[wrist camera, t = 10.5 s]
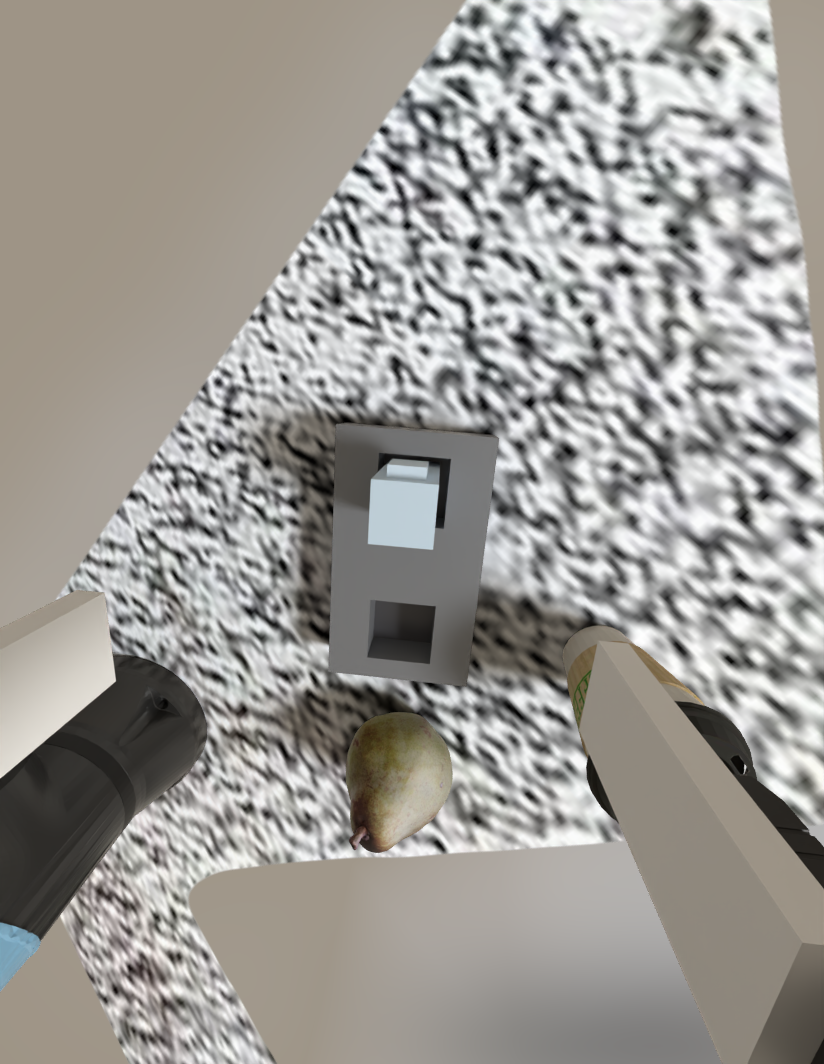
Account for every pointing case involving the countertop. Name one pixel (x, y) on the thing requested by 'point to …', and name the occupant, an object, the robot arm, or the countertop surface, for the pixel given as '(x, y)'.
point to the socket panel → (408, 558)
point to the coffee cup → (704, 719)
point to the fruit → (395, 779)
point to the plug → (404, 504)
